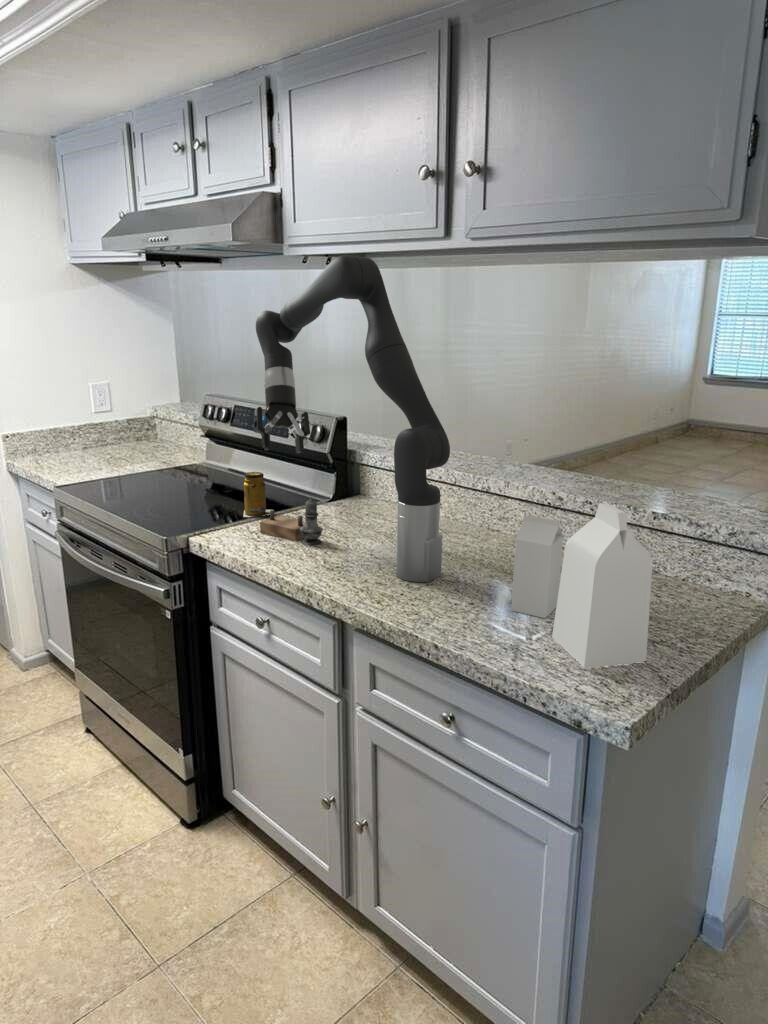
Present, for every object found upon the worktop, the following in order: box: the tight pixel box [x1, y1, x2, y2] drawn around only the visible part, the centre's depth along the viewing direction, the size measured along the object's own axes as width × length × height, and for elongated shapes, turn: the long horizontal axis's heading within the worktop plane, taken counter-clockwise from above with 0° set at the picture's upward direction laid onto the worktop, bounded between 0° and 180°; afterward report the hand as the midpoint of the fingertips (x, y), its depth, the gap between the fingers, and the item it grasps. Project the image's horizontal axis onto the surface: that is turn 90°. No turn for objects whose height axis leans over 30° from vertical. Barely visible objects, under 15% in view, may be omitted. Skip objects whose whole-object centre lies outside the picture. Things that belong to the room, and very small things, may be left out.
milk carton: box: [510, 514, 564, 619], centre depth 141 cm, size 7×7×19 cm
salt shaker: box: [300, 496, 324, 546], centre depth 181 cm, size 6×6×12 cm
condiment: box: [243, 471, 271, 518], centre depth 206 cm, size 7×8×12 cm
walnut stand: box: [259, 509, 305, 542], centre depth 189 cm, size 12×7×6 cm, turn 57°
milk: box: [551, 502, 653, 668], centre depth 123 cm, size 12×12×26 cm
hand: (283, 451), depth 178 cm, fingers open, 8 cm apart
